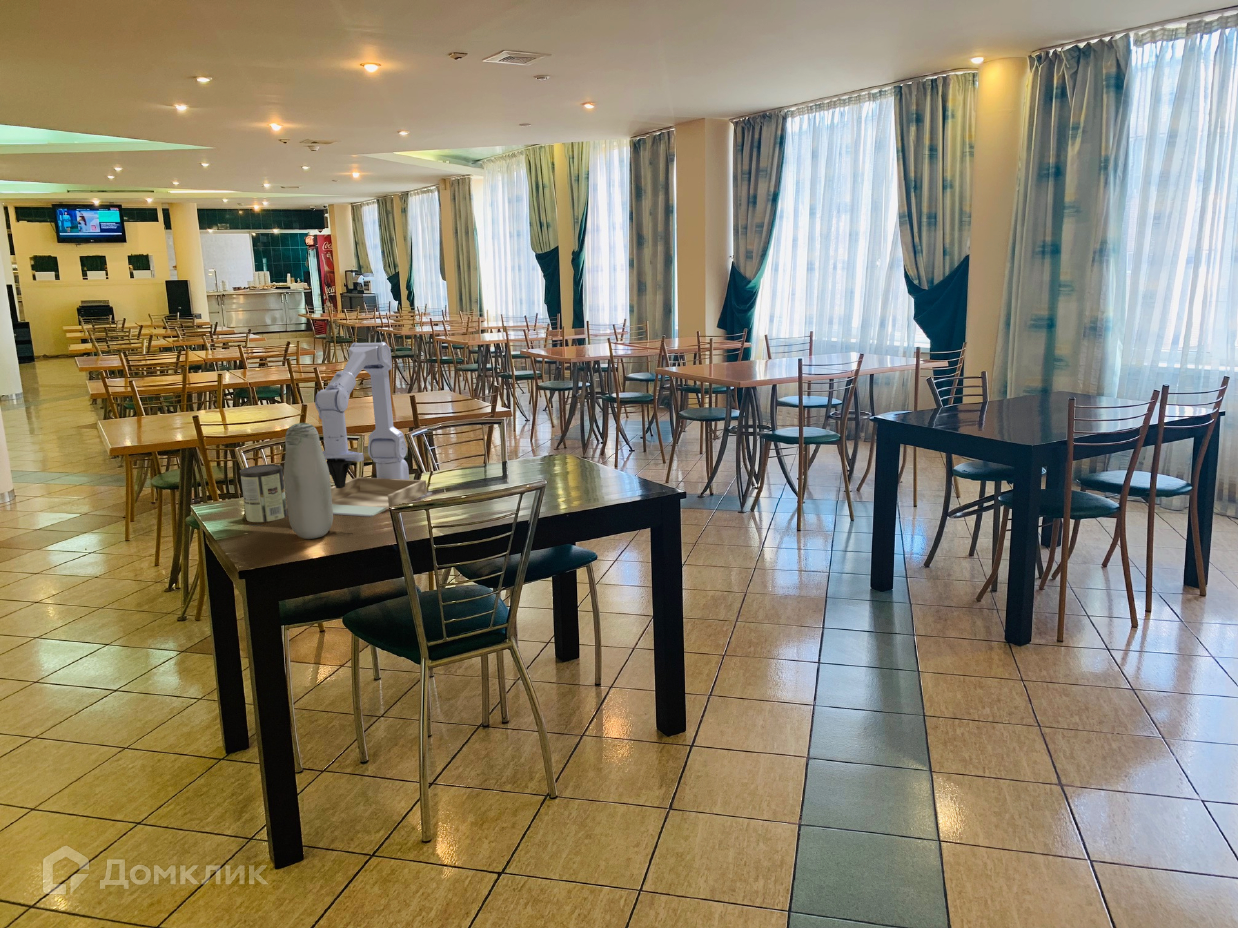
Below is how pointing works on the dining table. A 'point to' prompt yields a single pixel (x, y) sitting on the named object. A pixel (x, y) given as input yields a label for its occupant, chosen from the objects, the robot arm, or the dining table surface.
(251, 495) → the coffee can
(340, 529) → the dining table surface
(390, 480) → the cart bed
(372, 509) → the panel
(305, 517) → the white bottle
